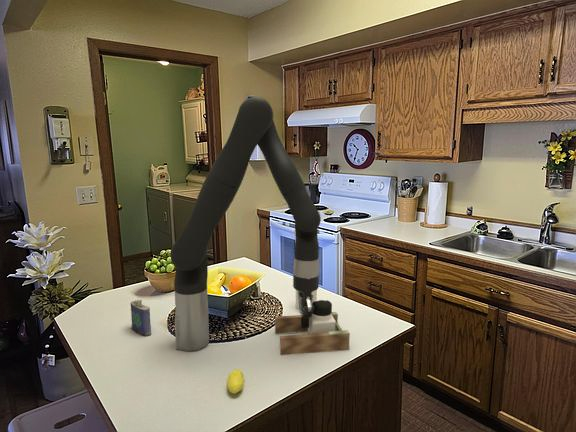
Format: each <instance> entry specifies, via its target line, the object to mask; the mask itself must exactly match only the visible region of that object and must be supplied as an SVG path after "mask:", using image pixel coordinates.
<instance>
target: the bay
mask: <svg viewBox="0 0 576 432" xmlns="http://www.w3.org/2000/svg"><path fill="white" fill-rule="evenodd" d="M332 316H333V318H334V319H335V321H336V331H330V332H328V333H315V334H308V328H302V327H301V314H296V315H295V314H294V315H279V316H274V333H275V334H276V335H277V334H278V335H279V334H287V335H280V336H279V338H280V340H279V345H280V346H279V348H280V349H279V351H280V356H286V355H297V354H310V353H320V352H321V353H322V352H323V353H324V352H337V351H347V350H350V335H351V334H350V331H349V330H348V329H347V330H343V329H342V327H341V326H340V324H339V322H338V319H339V314H338V312H337V311H332ZM305 332H307V333H306V334H305ZM290 333H291V334H290ZM293 333H301V334H293ZM302 333H303V334H302ZM288 334H290V335H288Z"/></svg>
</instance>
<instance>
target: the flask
mask: <svg viewBox="0 0 576 432" xmlns="http://www.w3.org/2000/svg"><path fill="white" fill-rule="evenodd" d="M142 302H143V300H142V298H141V299H140V300H139V299H135V300H133V301H131V302H130V311H131V312H130V314H131V316H130V317H131V330H132V331H133V332H134V333H136V334H139V335H141V336H143V337H149V336H151V335H152V325H151V314H150V313H151V308H150V307H149V306H147V305H145V304H143V303H142Z"/></svg>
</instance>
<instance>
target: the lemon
mask: <svg viewBox="0 0 576 432" xmlns="http://www.w3.org/2000/svg"><path fill="white" fill-rule="evenodd" d="M244 383H245V379H244V373H243V371H242V370H241V369H234V370H232V371H231V372H230V373H229V375H228V377H227V380H226V387H227V389H228V391H229V392H230V393H231V394H233V395H234V394H238V392H240V391H242V390H243V388H244Z"/></svg>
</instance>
